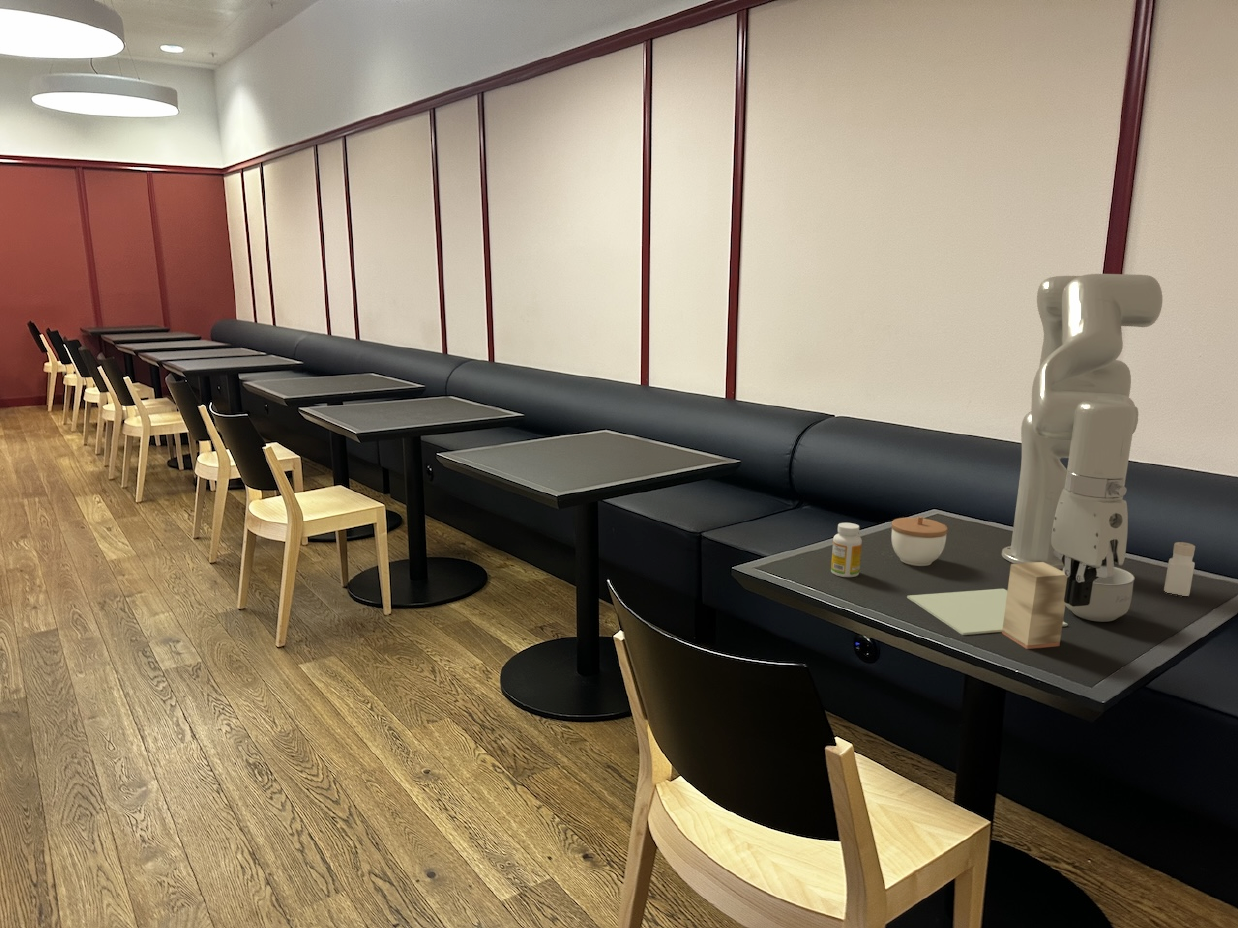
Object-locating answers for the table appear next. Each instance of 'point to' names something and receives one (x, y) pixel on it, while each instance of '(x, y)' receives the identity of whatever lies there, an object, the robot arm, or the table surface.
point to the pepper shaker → (1180, 569)
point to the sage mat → (967, 609)
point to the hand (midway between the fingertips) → (1076, 603)
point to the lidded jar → (918, 540)
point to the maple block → (1035, 605)
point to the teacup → (1107, 597)
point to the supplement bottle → (846, 551)
